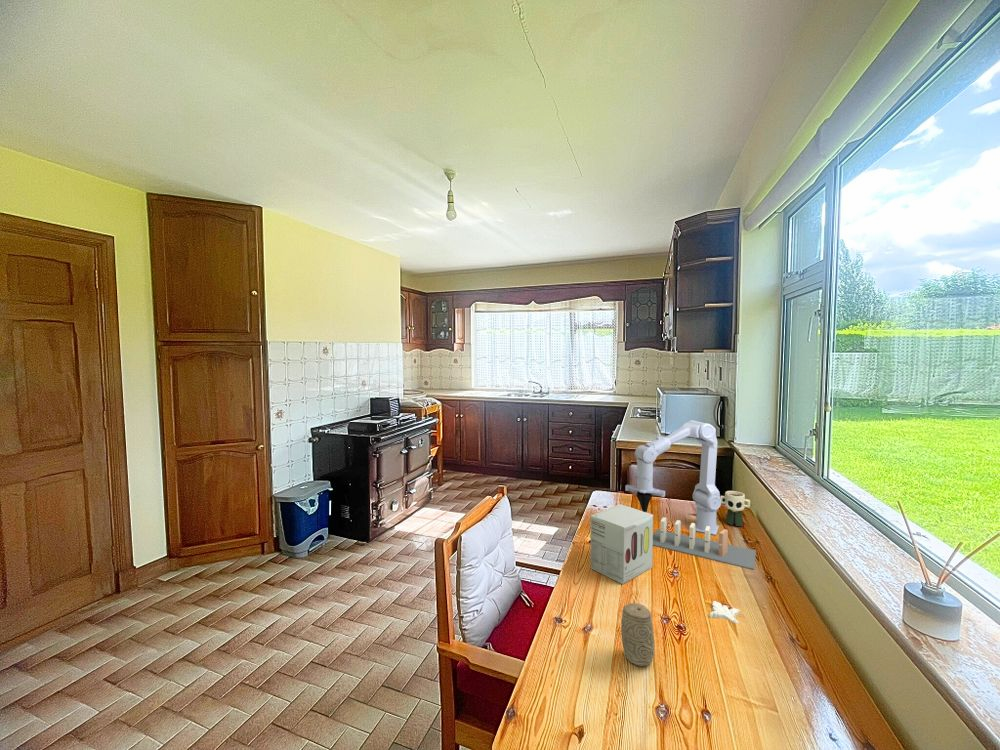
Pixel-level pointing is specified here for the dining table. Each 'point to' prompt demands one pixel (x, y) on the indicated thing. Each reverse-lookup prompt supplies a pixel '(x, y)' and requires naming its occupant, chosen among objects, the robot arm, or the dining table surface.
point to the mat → (733, 556)
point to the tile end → (723, 542)
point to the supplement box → (621, 542)
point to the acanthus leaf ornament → (724, 612)
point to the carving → (637, 634)
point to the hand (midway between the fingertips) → (644, 511)
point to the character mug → (734, 506)
